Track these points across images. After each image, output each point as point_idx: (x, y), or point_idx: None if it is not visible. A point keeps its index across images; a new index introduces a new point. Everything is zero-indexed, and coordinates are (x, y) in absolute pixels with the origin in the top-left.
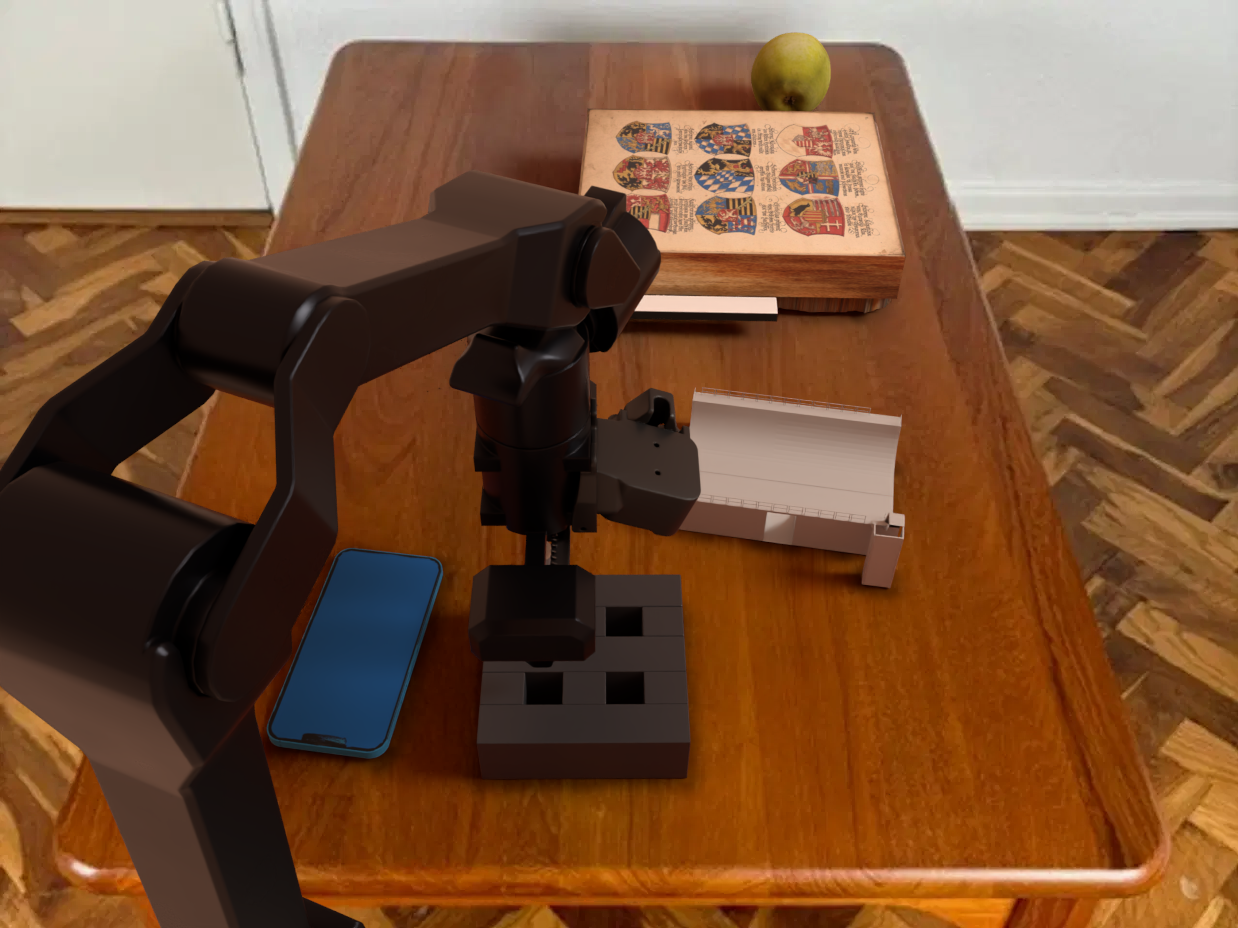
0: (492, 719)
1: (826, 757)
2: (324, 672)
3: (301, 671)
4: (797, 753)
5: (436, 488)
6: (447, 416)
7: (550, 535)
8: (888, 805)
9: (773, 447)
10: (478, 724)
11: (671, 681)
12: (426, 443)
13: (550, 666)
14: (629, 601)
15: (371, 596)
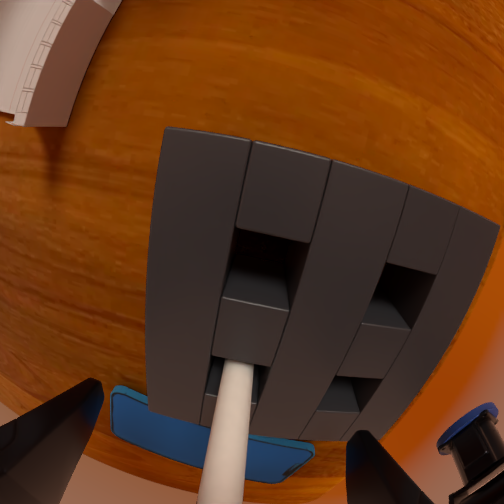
0: None
1: (449, 46)
2: None
3: None
4: (444, 69)
5: (42, 356)
6: None
7: (94, 397)
8: (488, 34)
9: (18, 20)
10: None
11: (421, 220)
12: (11, 347)
13: (370, 433)
14: (216, 250)
15: (157, 436)
